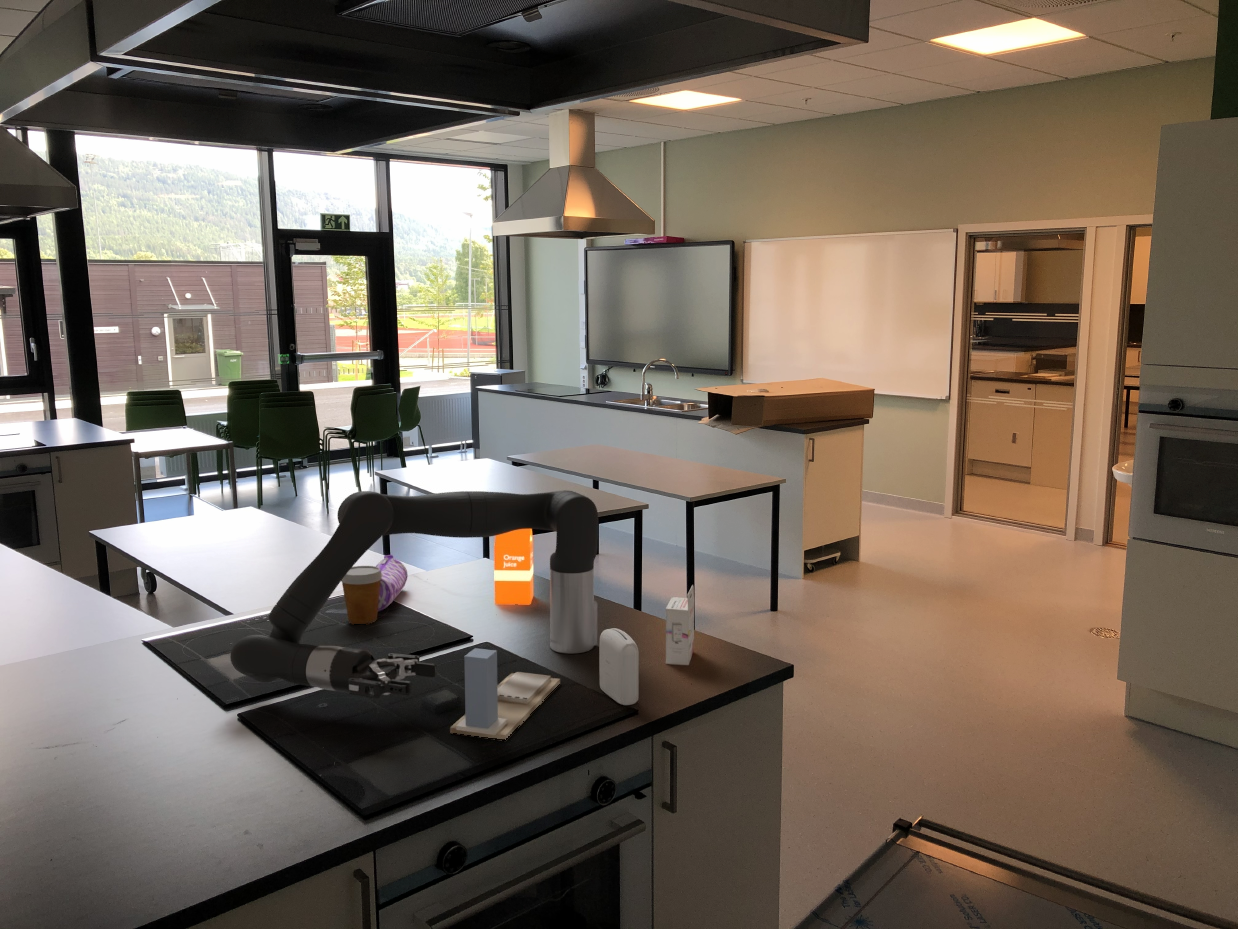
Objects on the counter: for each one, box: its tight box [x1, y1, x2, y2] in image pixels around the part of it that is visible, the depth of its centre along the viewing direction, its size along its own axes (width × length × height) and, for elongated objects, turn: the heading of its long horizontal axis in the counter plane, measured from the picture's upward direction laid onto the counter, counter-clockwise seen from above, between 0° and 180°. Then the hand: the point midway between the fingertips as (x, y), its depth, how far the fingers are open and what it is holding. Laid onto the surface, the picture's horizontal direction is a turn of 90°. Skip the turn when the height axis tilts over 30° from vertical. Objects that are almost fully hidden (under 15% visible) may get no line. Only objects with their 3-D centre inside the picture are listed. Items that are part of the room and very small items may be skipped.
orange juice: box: [493, 529, 534, 606], centre depth 231 cm, size 8×9×20 cm
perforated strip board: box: [449, 671, 561, 741], centre depth 167 cm, size 26×10×2 cm, turn 163°
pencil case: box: [375, 554, 409, 612], centre depth 231 cm, size 22×9×10 cm, turn 4°
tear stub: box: [456, 647, 507, 735], centre depth 155 cm, size 5×7×13 cm
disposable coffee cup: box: [340, 565, 383, 625], centre depth 214 cm, size 10×10×12 cm
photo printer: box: [598, 627, 639, 706], centre depth 171 cm, size 10×4×12 cm, turn 26°
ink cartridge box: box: [665, 584, 695, 666], centre depth 191 cm, size 9×5×15 cm, turn 168°
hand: (424, 679), depth 158 cm, fingers open, 8 cm apart
